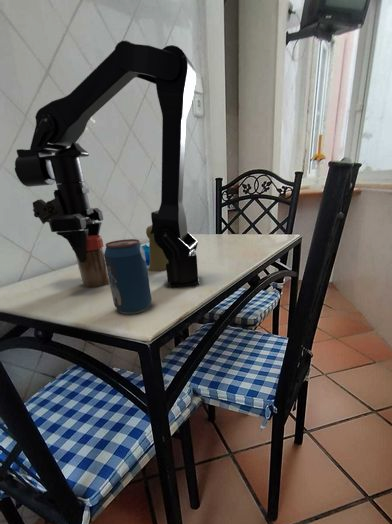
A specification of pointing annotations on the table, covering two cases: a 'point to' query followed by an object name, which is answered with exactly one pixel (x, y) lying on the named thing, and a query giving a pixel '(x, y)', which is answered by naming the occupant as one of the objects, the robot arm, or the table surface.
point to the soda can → (128, 275)
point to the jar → (93, 269)
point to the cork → (155, 253)
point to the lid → (94, 242)
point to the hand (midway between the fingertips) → (88, 258)
